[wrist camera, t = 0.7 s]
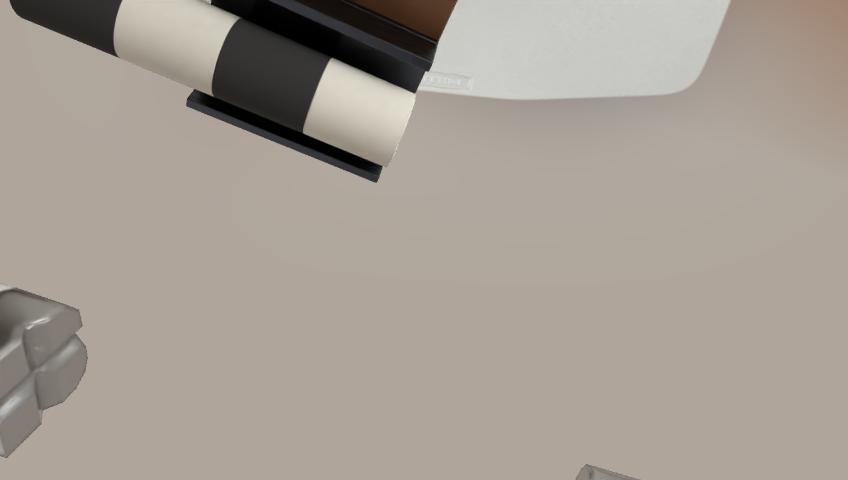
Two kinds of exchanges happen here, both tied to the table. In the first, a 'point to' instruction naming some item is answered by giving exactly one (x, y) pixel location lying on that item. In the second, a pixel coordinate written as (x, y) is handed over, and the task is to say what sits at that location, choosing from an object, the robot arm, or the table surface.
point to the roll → (240, 67)
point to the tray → (340, 39)
